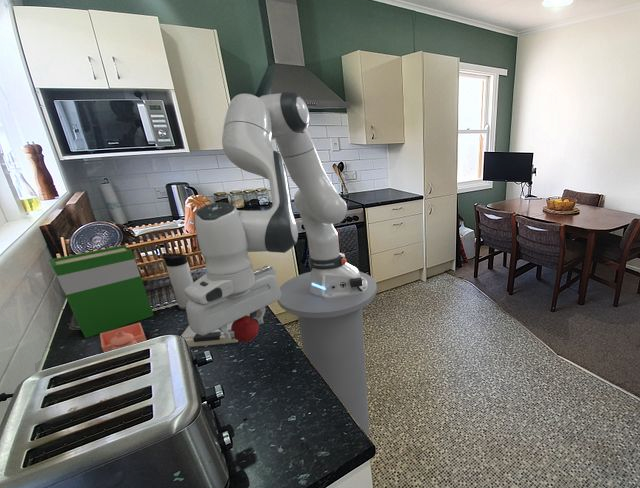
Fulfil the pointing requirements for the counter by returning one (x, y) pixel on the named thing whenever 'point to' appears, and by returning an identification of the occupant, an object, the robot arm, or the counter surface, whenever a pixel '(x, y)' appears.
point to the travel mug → (179, 276)
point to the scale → (207, 337)
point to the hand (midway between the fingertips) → (245, 331)
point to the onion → (245, 329)
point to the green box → (103, 289)
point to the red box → (122, 337)
